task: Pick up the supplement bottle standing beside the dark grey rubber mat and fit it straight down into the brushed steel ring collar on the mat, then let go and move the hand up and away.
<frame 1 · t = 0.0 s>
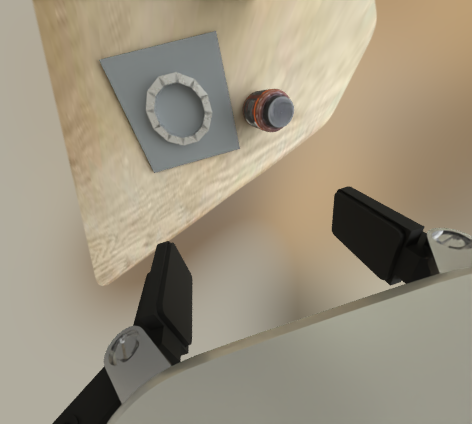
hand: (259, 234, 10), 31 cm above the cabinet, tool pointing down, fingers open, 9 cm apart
supplement bottle: (257, 109, 36), on the cabinet
rubber mat: (181, 111, 33), on the cabinet
ring collar: (180, 111, 32), on the rubber mat, point 1 cm above the cabinet
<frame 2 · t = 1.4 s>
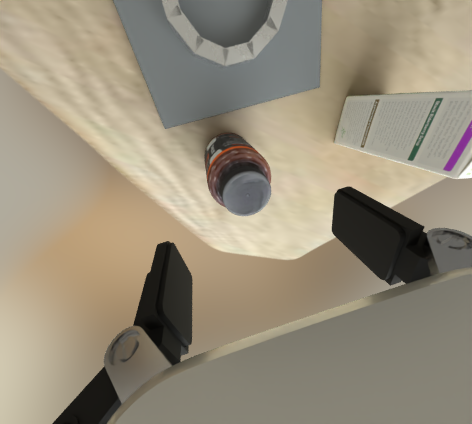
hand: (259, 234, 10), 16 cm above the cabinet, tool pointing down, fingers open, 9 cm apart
supplement bottle: (227, 156, 24), on the cabinet
syrup box: (356, 120, 25), on the cabinet
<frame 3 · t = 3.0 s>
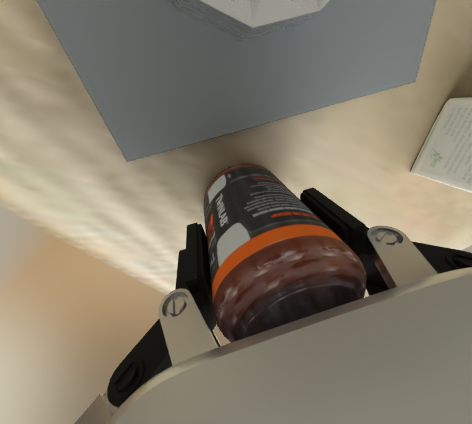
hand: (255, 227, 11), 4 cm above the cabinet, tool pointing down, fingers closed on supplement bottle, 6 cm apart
supplement bottle: (241, 199, 14), on the cabinet, touching gripper
syrup box: (450, 136, 15), on the cabinet
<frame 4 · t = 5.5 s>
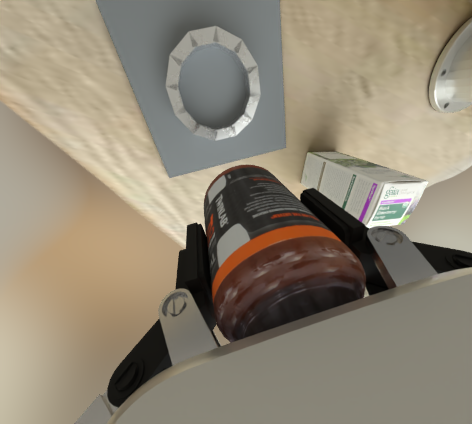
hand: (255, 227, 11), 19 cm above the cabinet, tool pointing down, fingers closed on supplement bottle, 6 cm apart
supplement bottle: (241, 199, 14), point 15 cm above the cabinet, touching gripper
rubber mat: (213, 91, 23), on the cabinet
ring collar: (214, 91, 22), on the rubber mat, point 1 cm above the cabinet
syrup box: (317, 167, 32), on the cabinet
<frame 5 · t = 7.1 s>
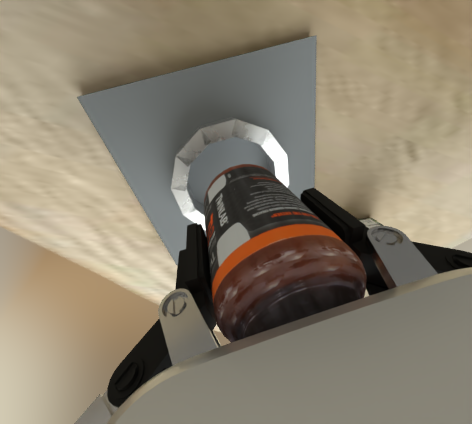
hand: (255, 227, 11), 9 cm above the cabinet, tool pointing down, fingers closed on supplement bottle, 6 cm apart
supplement bottle: (241, 198, 14), point 5 cm above the cabinet, touching gripper
rubber mat: (228, 175, 19), on the cabinet
ring collar: (231, 181, 17), on the rubber mat, point 1 cm above the cabinet
when the fingers open (5 cm above the cabinet, at t = 8.4 s): supplement bottle stays where it is, resting on rubber mat.
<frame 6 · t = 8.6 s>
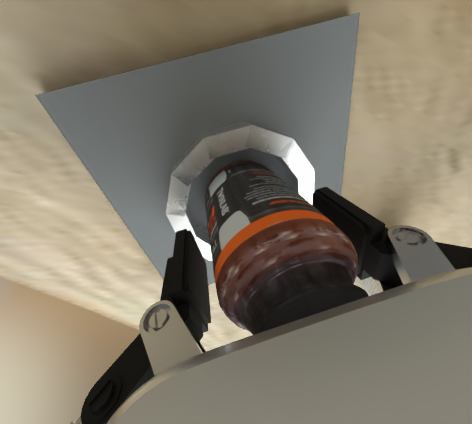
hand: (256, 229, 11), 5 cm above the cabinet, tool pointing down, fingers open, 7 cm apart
supplement bottle: (240, 195, 15), point 1 cm above the cabinet, touching rubber mat
rubber mat: (237, 192, 15), on the cabinet
ring collar: (242, 202, 14), on the rubber mat, point 1 cm above the cabinet
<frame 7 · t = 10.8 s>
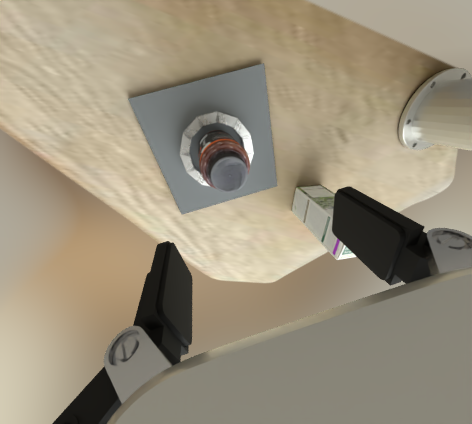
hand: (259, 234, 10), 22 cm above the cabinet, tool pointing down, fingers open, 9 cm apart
supplement bottle: (217, 150, 29), point 1 cm above the cabinet, touching rubber mat
rubber mat: (216, 149, 29), on the cabinet
ring collar: (217, 152, 28), on the rubber mat, point 1 cm above the cabinet
syrup box: (305, 197, 38), on the cabinet
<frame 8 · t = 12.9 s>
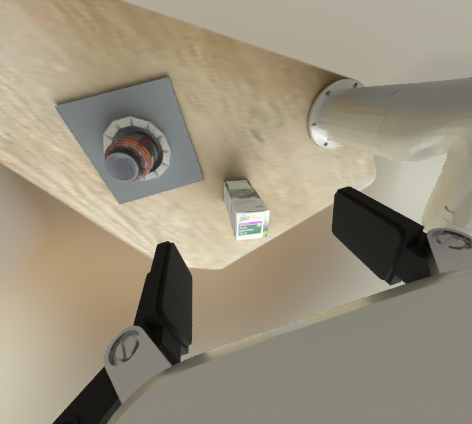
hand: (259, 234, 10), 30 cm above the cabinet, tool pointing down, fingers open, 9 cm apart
supplement bottle: (142, 148, 34), point 1 cm above the cabinet, touching rubber mat
rubber mat: (142, 147, 34), on the cabinet
ring collar: (139, 150, 33), on the rubber mat, point 1 cm above the cabinet
syrup box: (235, 190, 43), on the cabinet
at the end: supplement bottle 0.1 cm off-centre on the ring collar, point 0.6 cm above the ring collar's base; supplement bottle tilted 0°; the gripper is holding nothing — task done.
